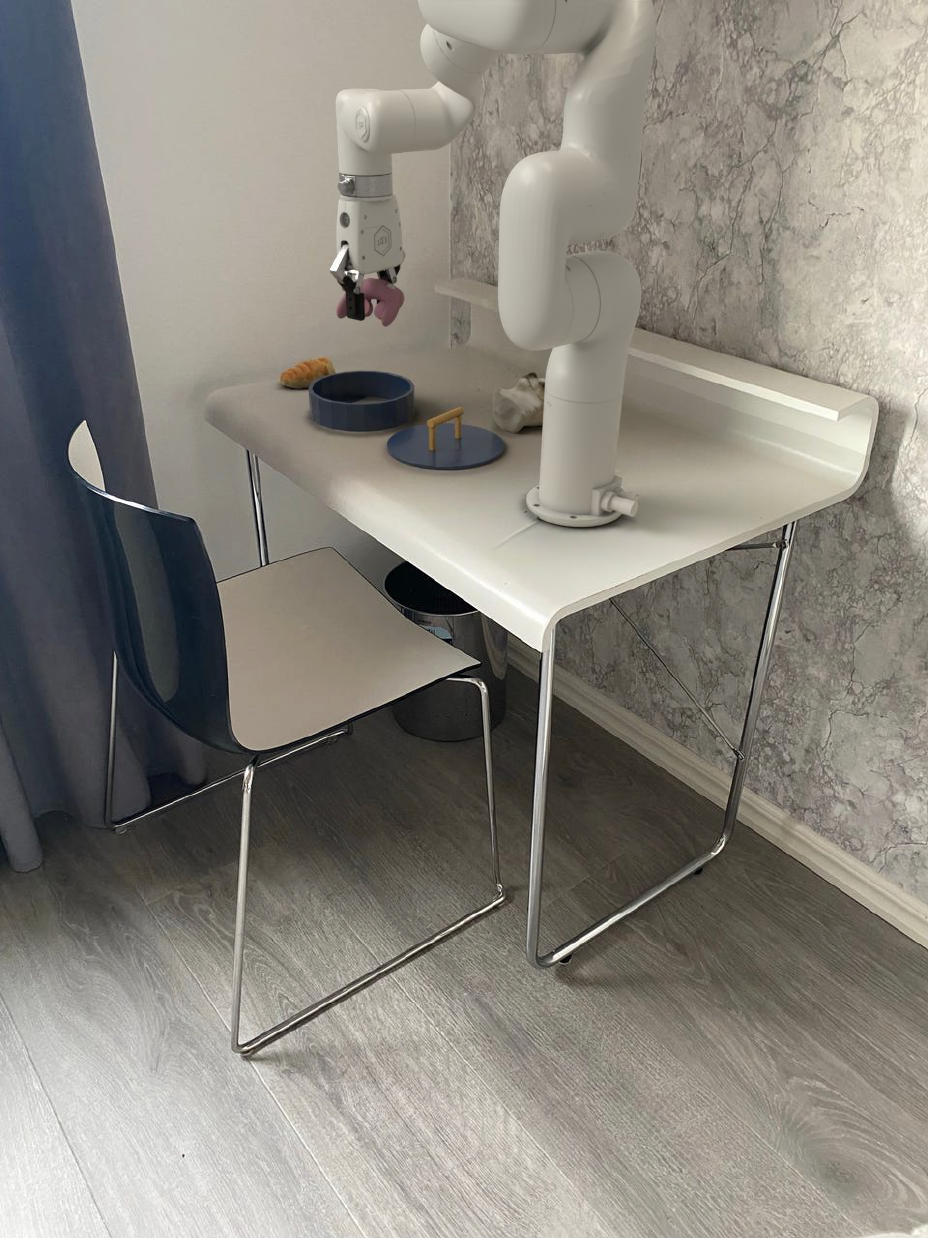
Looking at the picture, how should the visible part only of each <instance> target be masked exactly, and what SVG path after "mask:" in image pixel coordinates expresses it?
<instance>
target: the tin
mask: <svg viewBox="0 0 928 1238" xmlns="http://www.w3.org/2000/svg"><path fill="white" fill-rule="evenodd" d="M415 394H416V393H415V384H414V382H413V381H412V380H411V379H409V378H408V377H405V376H403V375H399V374H396V373H393V372H389V371H387V372H386V371H379V370H350V371H342V372H336V373H335V374H330V375H327V376H324V377H321V378H318V379H317V380H315V381H314V382H312V383H311V385H310V387H309V388H308V401H309V414H310V419H312V421H313V422H315V424H318V425H319V426H321V427H325V428H327V429H330V430H335V431H343V432H351V433H352V432H355V433H358V432H359V433H368V432H379V431H386V430H390V429H395V428H398V427H400V426H403V425H405V424H408V423H409V422H410V421H411V420H412V419H413V418H414V417H415V413H416V403H415V402H416V401H415V399H416V398H415V397H416V395H415ZM367 398H376V399H384V400H383V401H376V402H367V403H366V402H364V403H363V402H358V401H361V400H363V399H367Z"/></svg>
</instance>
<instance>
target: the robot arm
mask: <svg viewBox="0 0 928 1238" xmlns="http://www.w3.org/2000/svg"><path fill="white" fill-rule="evenodd" d="M417 3H418V4H417V5H418V9H419V12H420V13H421V16H422V17H423V19H424V22H425V23H426V24H425V25H424V28H423V29H422V31H421V34H420V41H419V47H420V48H419V49H420V54H421V58H422V60H423V62H424V64H425V66H426V68H427V70H428V71H429V72H430V74H431V75H432V76H433V78H435V79H436V80H437V82H435V84H434V85H433V86H431V87H430V88H407V89H405V88H404V89H394V90H382V89H379V88H360V87H357V88H345V89H342V90H340V91H339V92H338V93H337V94H336V97H335V120H336V121H335V123H336V139H337V156H338V157H337V158H338V178H339V180H338V181H339V182H338V183H337V189H338V191H339V198H338V203H337V212H336V232H335V234H336V235H335V236H336V239H335V240H336V241H335V242H336V244H335V245H336V257H335V259H334V261H333V263H332V265H331V267H330V270H329V272H330V274H331V276H333V277H334V279H335V280H336V281H337V283H338V284H339V286H340V287H341V290H342V291H343V292H344V293H345V292H346V312H347V316H346V317H347V319H350V320H354V321H358V322H359V321H360V322H362V321H365V319H366V317H365V302H364V293H361V288H362V283H363V280H364V279H365V275H370V274H374V273H376V277H377V279H381V280H385V281H387V282H389V283H391V284H393V285H396V284H397V282H398V277H397V276H398V275H399V273H400V270H401V266H402V264H403V262H404V261H405V259H406V255H407V254H406V252H405V250H404V248H403V247H404V246H403V245H404V244H403V233H402V223H401V222H402V221H401V214H400V209H399V204H398V199H397V196H396V195H395V194H394V193H393V192H394V190H393V188H394V187H393V154H403V153H413V152H426V151H436V150H439V149H442V148H444V147H446V146H447V145H449V144H450V143H451V142H453V141H454V140H455V139H456V138H457V137H458V136H459V135H460V134H461V133H462V132H463V131H464V130H465V129H466V128H467V126H468V125H469V124H470V123H471V122H472V121H473V119H474V118H475V117H476V115H477V113H478V110H479V105H480V102H481V97H482V90H483V89H482V88H483V81H482V76H483V75H484V73H485V72H486V71H487V70H489V68H490V67H491V66H492V64H493V63H494V62H496V60H497V59H498V58H499V57H500V56H501V55H502V54H509V55H522V56H525V55H526V56H528V55H559V54H578V55H581V57H583V61H582V62H581V63H580V65H579V67H578V68H577V70H576V72H575V73H574V76H573V78H572V80H571V83H570V85H569V88H568V90H567V93H566V96H565V100H564V101H565V102H564V106H563V126H562V127H563V129H562V138H561V144H560V148H559V149H558V150H547V151H546V150H545V151H539V152H536V153H535V152H534V153H533V154H530V155H527V156H525V157H524V158H522V159H521V160H520V161H518V162H517V163H516V164H515V165H514V167H513V168H512V170H511V171H510V173H509V174H508V175H507V178H506V180H505V183H504V186H503V188H502V189H503V190H502V193H501V197H500V203H499V205H500V206H499V217H498V218H499V223H498V224H499V226H498V230H499V231H498V267H497V271H498V273H497V306H498V313H499V318H500V322H501V326H502V328H503V330H504V331H503V332H504V333H505V335H506V336H507V338H508V339H509V341H510V342H511V343H512V344H513V345H515V347H517V348H520V349H522V350H524V351H530V352H533V351H534V352H537V351H538V352H539V351H545V350H549V349H552V350H551V353H550V355H549V358H548V361H547V365H546V370H545V378H544V379H545V394H544V412H543V425H542V432H541V433H542V434H541V449H540V465H539V484H537V485H536V486H534V487H532V488H531V489H530V490H529V491H528V492H527V494H526V498H525V500H526V506H527V508H528V509H529V510H530V512H532V513H533V514H535V515H536V516H537V518H538V519H540V520H541V521H544V522H547V523H551V524H554V525H557V526H562V527H563V526H564V527H573V528H588V527H596V526H597V527H598V526H603V525H606V524H610V523H611V522H613V521H616V520H617V519H618V518H619V517H621V516H622V515H626V516H630V517H631V518H633V517H635V516H636V515H637V513H638V512H639V505H640V503H639V501H640V495H639V494H636V493H633V492H629V491H625V490H624V489H623V488H622V483H623V477H622V476H619V475H616V467H617V457H618V447H619V436H620V426H621V425H620V424H621V415H622V406H623V398H624V397H623V396H624V389H625V379H626V371H627V363H628V362H627V361H628V357H629V352H630V347H631V341H632V338H633V335H634V331H635V328H636V324H637V322H638V317H639V314H640V310H641V303H642V284H641V279H640V276H639V274H638V270H637V269H636V268H635V266H634V265H633V264H632V263H631V261H630V260H628V259H627V258H626V257H625V256H623V255H621V254H620V253H616V252H613V251H609V250H590V251H583V252H577V253H572V254H568V247H569V246H574V245H579V244H586V243H592V242H597V241H601V240H605V239H606V240H607V239H610V238H613V237H615V236H617V235H619V234H621V233H623V232H624V231H626V229H628V227H630V224H631V223H632V221H633V219H634V216H635V213H636V207H637V202H638V201H637V198H638V192H639V180H640V170H641V169H640V168H641V159H642V156H641V155H642V147H643V135H644V121H645V120H644V119H645V107H646V97H647V93H648V86H649V80H650V76H651V70H652V65H653V60H654V54H655V47H656V42H657V41H656V40H657V19H656V12H655V7H654V3H653V0H417ZM353 276H355V278H354V280H355V282H354V280H353ZM379 302H380V300H376V305H377V304H378V303H379Z"/></svg>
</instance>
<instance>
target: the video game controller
mask: <svg viewBox="0 0 928 1238" xmlns="http://www.w3.org/2000/svg"><path fill="white" fill-rule="evenodd" d="M353 281H354V282H355V279H354V280H353ZM361 293H364V302H365V318H368V317H370V316H372V314H373V315H374V316H375V318H377V319H378V320H380V323H381V325H382V326H383V327H389V326H390V325H391V324H392V323H394V321H395V320H396V319H397V316H398V314H399V311H400V309H401V308H402V307H403V305H404V302H405V294H404V292H403V290H401V289H400V288H399V287H397V286H396V285H395V284H391V283H389V282H387V281H385V280H381V279H378V278H376V277H375V278H374V277H367V278H364V279H363V283H362V288H361ZM372 300H376V301H377V300H380V302H379V303H378V304H377V303H376V305H375V306H374V304H373V303H372ZM335 312H336V317H337V318H338V319H341V320H342V319H344V318H346V317H347V312H346V292H345V291H344V294H343V295H342V297H341V298H340V300H339V302H338V304H337V306H336V311H335Z"/></svg>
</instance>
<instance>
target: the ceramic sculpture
mask: <svg viewBox="0 0 928 1238" xmlns="http://www.w3.org/2000/svg"><path fill="white" fill-rule="evenodd" d="M544 394H545V378H543V377H538V375H537V373H536V372H529V373H527V374H525V375H522V376H521V377H520V378H519V380H518V381H517V383H516V385H515V386H514V387H512V388H509V389H506V388H502V387H501V388H499V387H495V388H494V390H493V393H492V416H493V419H494V421H495V424H496V425H497V426H498V427H499V429H500V430H501V431H505V432H509V433H511V434H517V433H519V431H521V430H522V429H523V427H543V412H544Z"/></svg>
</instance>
